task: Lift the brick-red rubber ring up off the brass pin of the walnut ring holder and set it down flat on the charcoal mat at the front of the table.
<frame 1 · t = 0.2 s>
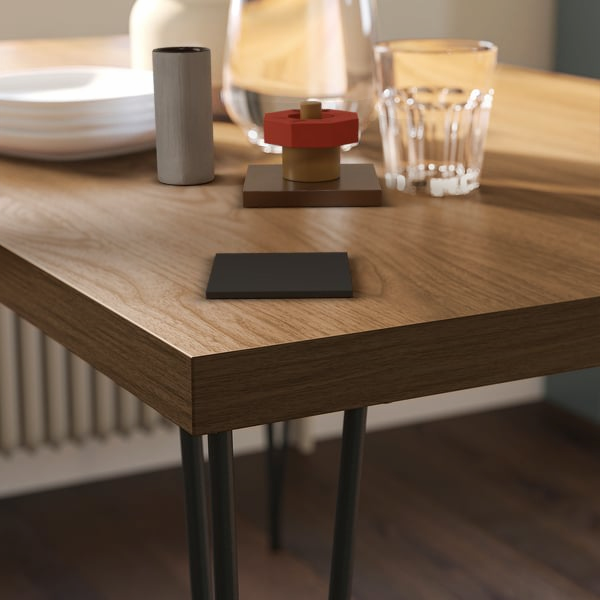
planter: (186, 182, 95), on the table
ring: (311, 139, 88), point 4 cm above the table, touching ring holder
ring holder: (311, 191, 90), on the table
mat: (280, 277, 68), on the table
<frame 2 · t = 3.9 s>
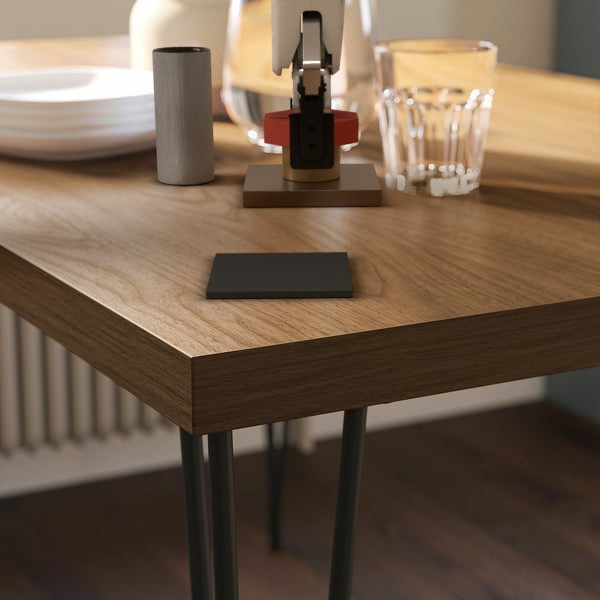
hand: (311, 156, 89), 3 cm above the table, tool pointing down, fingers closed on ring, 7 cm apart
ring: (311, 139, 88), point 4 cm above the table, touching gripper, ring holder
everything else where it was.
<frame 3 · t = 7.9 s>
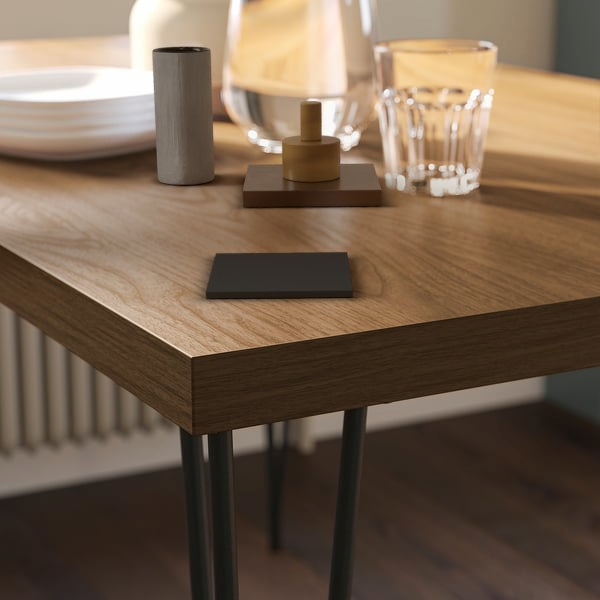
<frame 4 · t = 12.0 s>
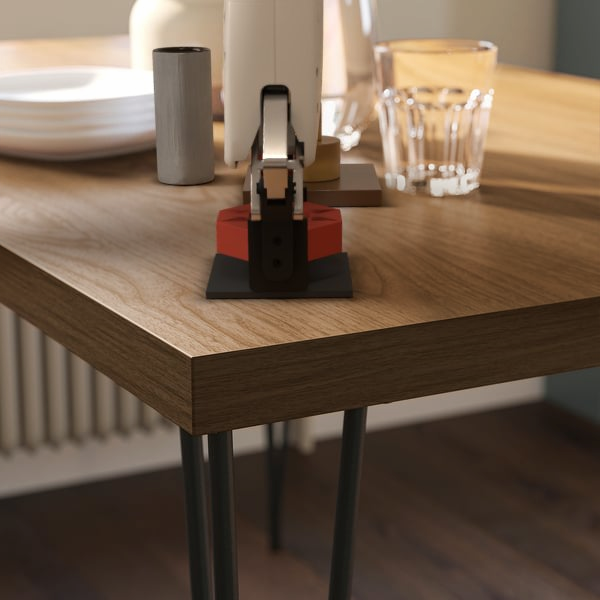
hand: (279, 267, 68), 1 cm above the table, tool pointing down, fingers closed on ring, 7 cm apart
ring: (279, 245, 67), point 2 cm above the table, touching gripper
everything else where it was.
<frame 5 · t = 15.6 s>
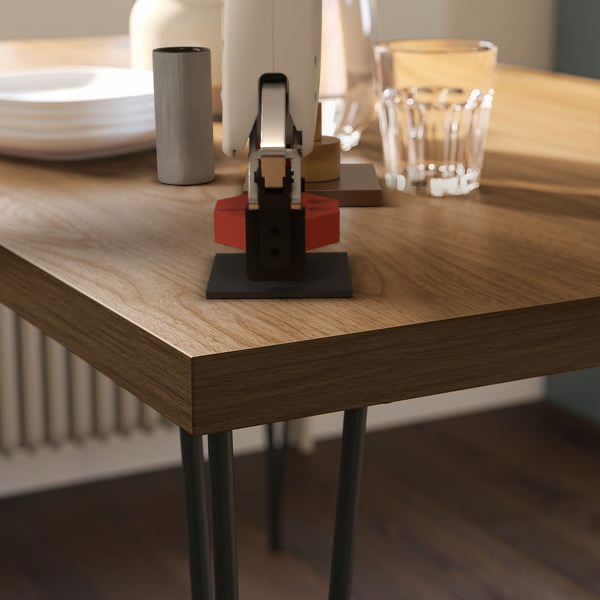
hand: (277, 258, 67), 1 cm above the table, tool pointing down, fingers closed on ring, 7 cm apart
ring: (277, 236, 67), point 2 cm above the table, touching gripper
everything else where it was.
when the fingers open (1 cm above the table, at t = 18.9 s): ring drops 2 cm, resting on mat.
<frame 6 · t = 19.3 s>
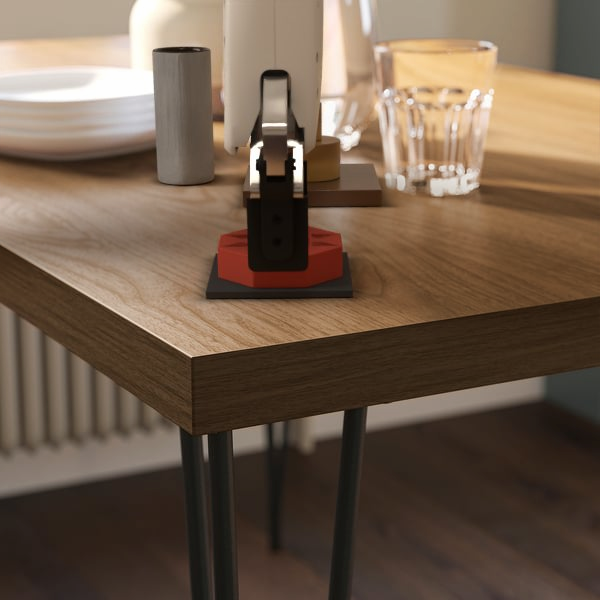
hand: (279, 246, 67), 2 cm above the table, tool pointing down, fingers open, 9 cm apart
ring: (280, 270, 68), resting on mat
everything else where it was.
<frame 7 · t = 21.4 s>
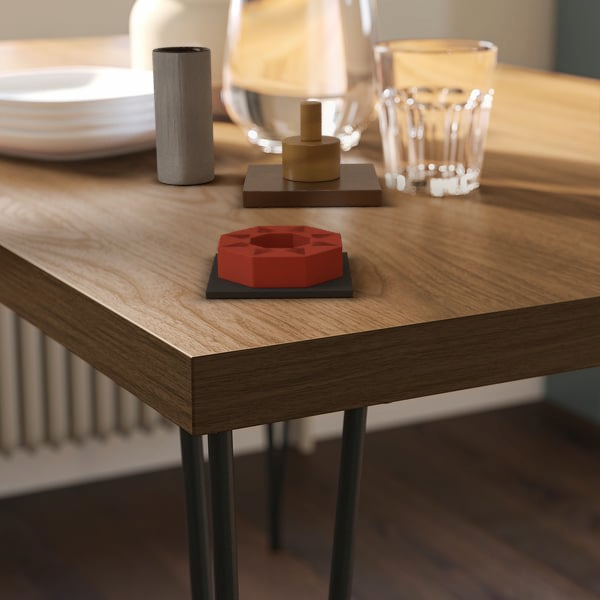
nothing on the table moved.
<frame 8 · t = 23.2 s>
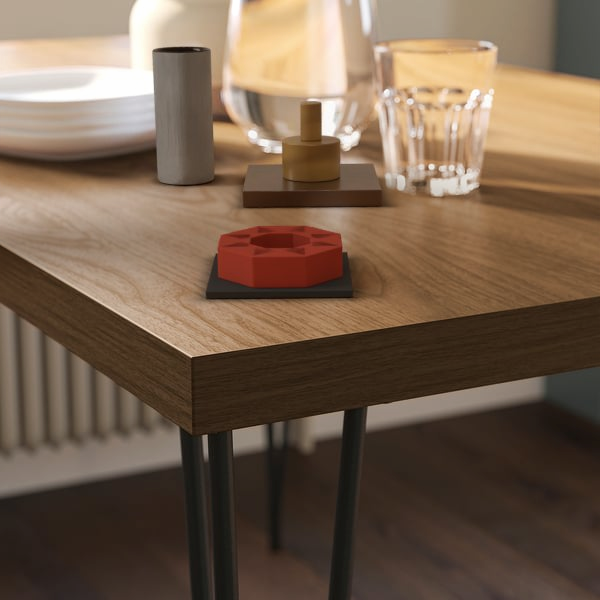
nothing on the table moved.
at the end: ring 0.0 cm off-centre on the mat, point 0.4 cm above the mat's base; ring tilted 0°; the gripper is holding nothing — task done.
